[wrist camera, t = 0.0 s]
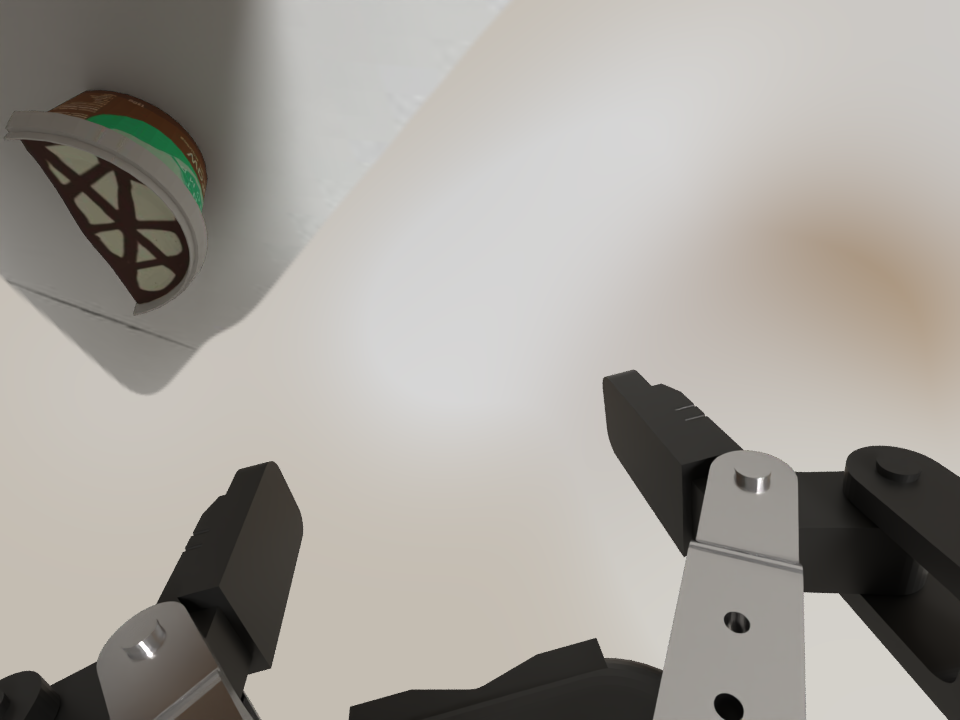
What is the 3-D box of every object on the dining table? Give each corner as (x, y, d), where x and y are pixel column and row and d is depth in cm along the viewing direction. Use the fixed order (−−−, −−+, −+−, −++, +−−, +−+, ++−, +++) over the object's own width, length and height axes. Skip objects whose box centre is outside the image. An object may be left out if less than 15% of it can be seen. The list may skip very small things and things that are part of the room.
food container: (251, 227, 40) (235, 305, 33) (171, 239, 39) (138, 321, 32) (176, 52, 31) (132, 110, 24) (70, 64, 30) (-6, 127, 23)
